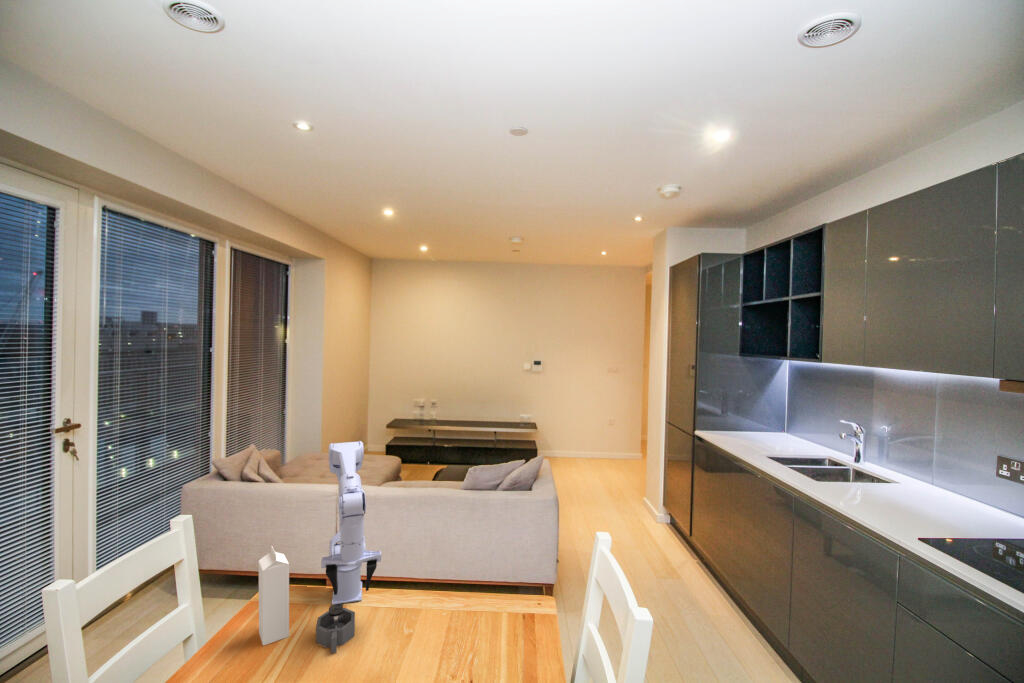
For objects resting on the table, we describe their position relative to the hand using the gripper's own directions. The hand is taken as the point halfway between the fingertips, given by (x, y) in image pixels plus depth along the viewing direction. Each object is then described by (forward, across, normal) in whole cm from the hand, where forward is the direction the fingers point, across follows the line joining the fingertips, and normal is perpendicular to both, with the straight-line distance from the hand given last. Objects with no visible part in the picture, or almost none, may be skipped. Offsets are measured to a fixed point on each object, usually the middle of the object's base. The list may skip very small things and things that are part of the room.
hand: (351, 590), depth 121 cm
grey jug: (+10, -4, -3) cm, 11 cm away
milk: (+10, -19, +2) cm, 22 cm away
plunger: (+9, -4, -2) cm, 10 cm away
